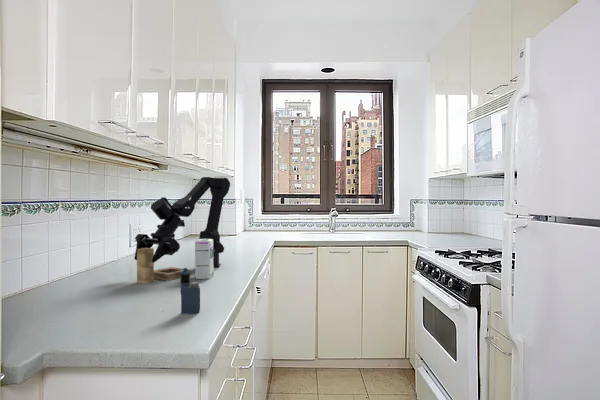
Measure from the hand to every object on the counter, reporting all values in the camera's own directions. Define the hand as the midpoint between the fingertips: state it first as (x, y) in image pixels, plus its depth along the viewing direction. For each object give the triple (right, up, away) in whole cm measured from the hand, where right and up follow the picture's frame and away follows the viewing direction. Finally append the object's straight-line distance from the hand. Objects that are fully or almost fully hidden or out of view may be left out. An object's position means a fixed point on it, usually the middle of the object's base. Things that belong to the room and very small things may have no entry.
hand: (143, 260), depth 143 cm
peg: (0, -8, +1) cm, 8 cm away
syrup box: (+20, -8, +9) cm, 23 cm away
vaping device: (+26, -9, -35) cm, 45 cm away
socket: (+6, -8, +10) cm, 14 cm away
